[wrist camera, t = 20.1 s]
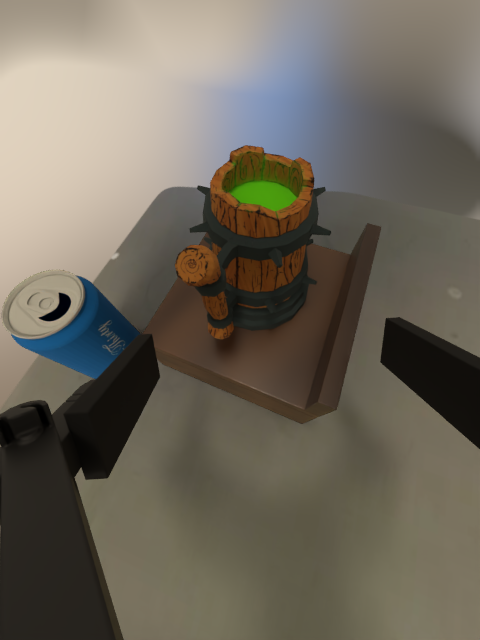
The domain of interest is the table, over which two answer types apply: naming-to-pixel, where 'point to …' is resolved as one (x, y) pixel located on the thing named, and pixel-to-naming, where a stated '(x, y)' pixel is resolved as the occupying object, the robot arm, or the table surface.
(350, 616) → the table surface
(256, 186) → the mug
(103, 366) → the beverage can
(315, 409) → the brown wooden box
